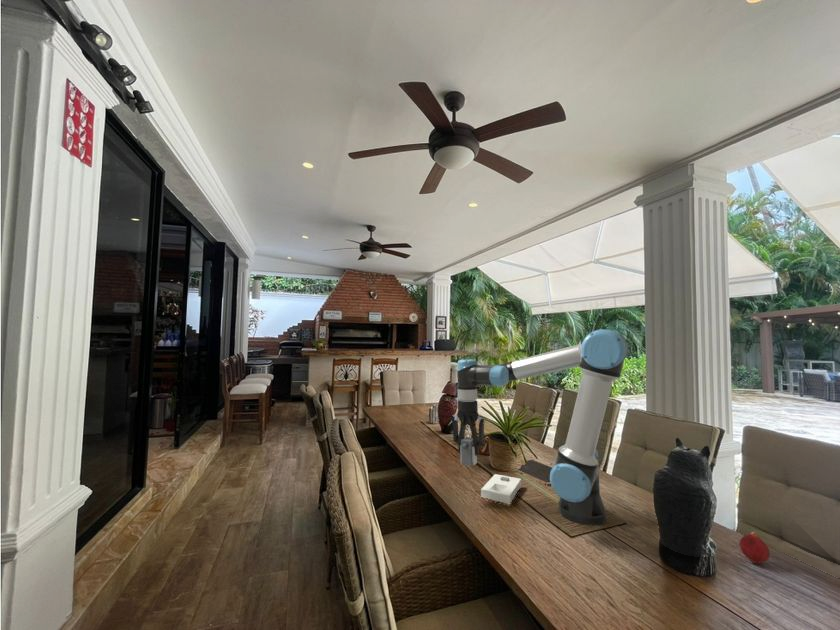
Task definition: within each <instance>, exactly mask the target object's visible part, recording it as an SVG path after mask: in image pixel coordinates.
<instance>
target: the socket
mask: <svg viewBox="0 0 840 630" xmlns="http://www.w3.org/2000/svg"><path fill="white" fill-rule="evenodd" d="M520 486H521V487H522V478H519V477H512V476H508V475H502V474H496V473H495V474H493V476H492V477H491V478H489V480H488V481H487V482H486V483H485V484H484V485H483V486H482V487H481V488H480V498H481V497H483V498H488V499H492V500H495V501H500V502H504V503H507V504H510V503H511V502H512V500H513V498H514V497H515V495H516V493H517V491H518V489H519V488H520ZM516 496H517V495H516ZM515 498H516V497H515ZM515 498H514V499H515ZM513 501H514V500H513ZM512 503H513V502H512ZM512 503H511V504H512Z"/></svg>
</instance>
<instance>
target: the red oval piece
mask: <svg viewBox="0 0 840 630" xmlns="http://www.w3.org/2000/svg"><path fill="white" fill-rule="evenodd" d="M739 548H740V550H741V552H742V554H743V555H744V557H746V558H747V559H748V560H749V561H751V562H752V563H753V564H756V565H758V564H761V563H765V562H767V561H768V560H769V558H770V554H771V552H770V549H769V546H767V544H766V543H765V542H764V541H763V540H762V539H761V538H760V537H759V536H758V533H756V532H755V531H752V532H750V533H749V534H746V535H744V536H743V537H741V539H740V540H739Z"/></svg>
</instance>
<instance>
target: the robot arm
mask: <svg viewBox="0 0 840 630" xmlns="http://www.w3.org/2000/svg"><path fill="white" fill-rule="evenodd" d="M628 353H629V345H628V342H627V340H626V339H625V338H624V336H623V335H621V334H620V333H618V332H616V331H614V330H610V329H601V328H600V329H596V330H594V331H591V332H590V333H588V334H587V335H586V336H585V338H584V339H582V340H580V341H579V343H578V344H574V345H571V346H567V347H563V348H560V349H554V350H551V351H547V352H543V353H539V354H535V355H532V356H527V357H523V358H519V359H516V360H512V361H508V362H505V363H500V364H490V365H487V364H486V365H485V364H484V365H483V364H482V365H480V364H478V363H477V360H476V359H459V360H458V361H457V364H456V365H457V368H456V369H457V370H456V374H457V399H458V401H457V413H456V414H453V415H451V416H450V419H451V421H452V437H453V440H452V441H453V442H454V443H456V444H457V446H458V447H457V448H458V451H457V452H458V453H459V454H461V440H462V439H464V438H465V432H466V428H467V426H469V429H470V432H471V436H472V437H471V438H473V442H474V446H473V447H472V459H473V466H475V465H476V464H477V463H478V457H477V456H479V455H480V447H481V446H483V445H484V443H485V424H486V423H485V422H486V417H482V416H480V415H479V412H478V410H479V409H478V408H479V407H478V405H479V403H478V400H477V399H478V386H489V387H505V386H507V385H508V384H509V383H511V382H515V381H518V380H523V379H528V378H533V377H537V376H542V375H545V374H546V375H547V374H550V373H551V374H552V373H555V372H558V371H560V372H561V371H564V370H568V369H569V370H570V369H573V368H578V369H579V370H580V371H581V375H582V376H581V380H580V383H579V388H578V391H577V396H576V399H575V403H574V408H573V411H572V415H571V420H570V424H569V427H568V432H567V436H566V439H565V443H564V444H562V445H561V446H559V448H558V450H557V454H556V459H555V462H554V466H552V470H551V472H550V483H551V488H552V489H553V491H554V492H555V494H557V495H558V497H560V498H559V500H558V512H559V514H560V513H561V514H562V515H561V514H560V515H561V516H562V517H564V518H565V517H566V519H567V518H568V519H567V520H569V519H570V521H572V520H573V521H572V522H574V521H575V523H578V524H583V525H589V526H590V525H591V526H593V525H595V526H596V525H601V524H604V523H605V522H606V521H607V509H606V507H605V504H604V501H603V498H602V496H601V493H600V492H601V491H600V488H601V487H600V469H599V468H600V467H599V459H600V457H599V451H598V450H597V445H598V441H599V437H600V434H601V429H602V425H603V420H604V418H605V414H606V409H607V405H608V403H609V398H610V393H611V390H612V385H613V383H614V381H616V380H619V379H620V377H621V374H622V370H623V366H624V363H625V359H626V357H627V356H628ZM458 420H459V421H460V424H459V422H458ZM476 422H478V431H477V425H476Z"/></svg>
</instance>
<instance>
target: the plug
mask: <svg viewBox="0 0 840 630" xmlns="http://www.w3.org/2000/svg"><path fill="white" fill-rule="evenodd" d="M473 446H474V442H473V438H472V437H470V436H469V437H467V436H464V439H462V440H461V453H460V464H461V466H467V467H473V466H474V465H473V459H472V447H473Z"/></svg>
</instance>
